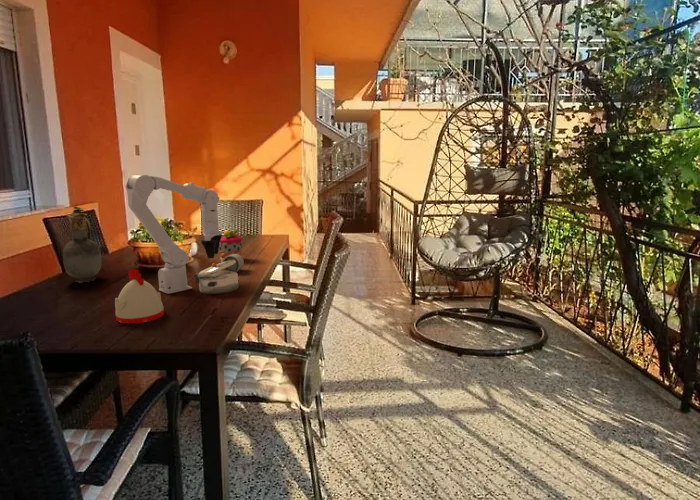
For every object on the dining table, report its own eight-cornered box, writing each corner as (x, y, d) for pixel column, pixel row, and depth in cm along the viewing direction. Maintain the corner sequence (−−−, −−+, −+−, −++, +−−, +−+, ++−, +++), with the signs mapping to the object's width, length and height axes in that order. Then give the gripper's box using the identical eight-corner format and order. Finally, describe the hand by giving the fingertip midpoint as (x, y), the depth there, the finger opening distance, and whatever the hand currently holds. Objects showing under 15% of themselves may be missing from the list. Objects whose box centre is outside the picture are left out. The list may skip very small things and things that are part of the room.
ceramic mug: (245, 269, 209) (244, 251, 207) (240, 274, 201) (238, 255, 199) (221, 269, 210) (219, 252, 208) (215, 274, 202) (213, 256, 200)
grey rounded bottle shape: (63, 286, 186) (52, 209, 180) (81, 274, 205) (71, 204, 199) (93, 285, 188) (83, 208, 182) (108, 273, 206) (100, 203, 200)
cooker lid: (191, 281, 172) (188, 275, 171) (203, 271, 186) (201, 266, 186) (230, 267, 171) (228, 262, 171) (239, 258, 185) (237, 253, 185)
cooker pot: (189, 296, 170) (188, 282, 169) (205, 281, 190) (204, 269, 189) (231, 295, 170) (230, 282, 169) (243, 280, 190) (242, 268, 189)
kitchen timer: (150, 306, 160) (145, 262, 157) (172, 314, 152) (168, 268, 149) (107, 317, 150) (101, 270, 147) (129, 327, 141) (123, 277, 138)
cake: (215, 262, 223) (213, 230, 220) (227, 257, 233) (225, 227, 230) (235, 263, 220) (233, 231, 217) (247, 258, 230) (245, 227, 227)
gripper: (216, 223, 178) (219, 259, 181) (224, 218, 192) (227, 251, 195) (197, 224, 178) (200, 260, 180) (206, 218, 192) (209, 252, 195)
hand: (213, 255), depth 188 cm, fingers open, 7 cm apart
